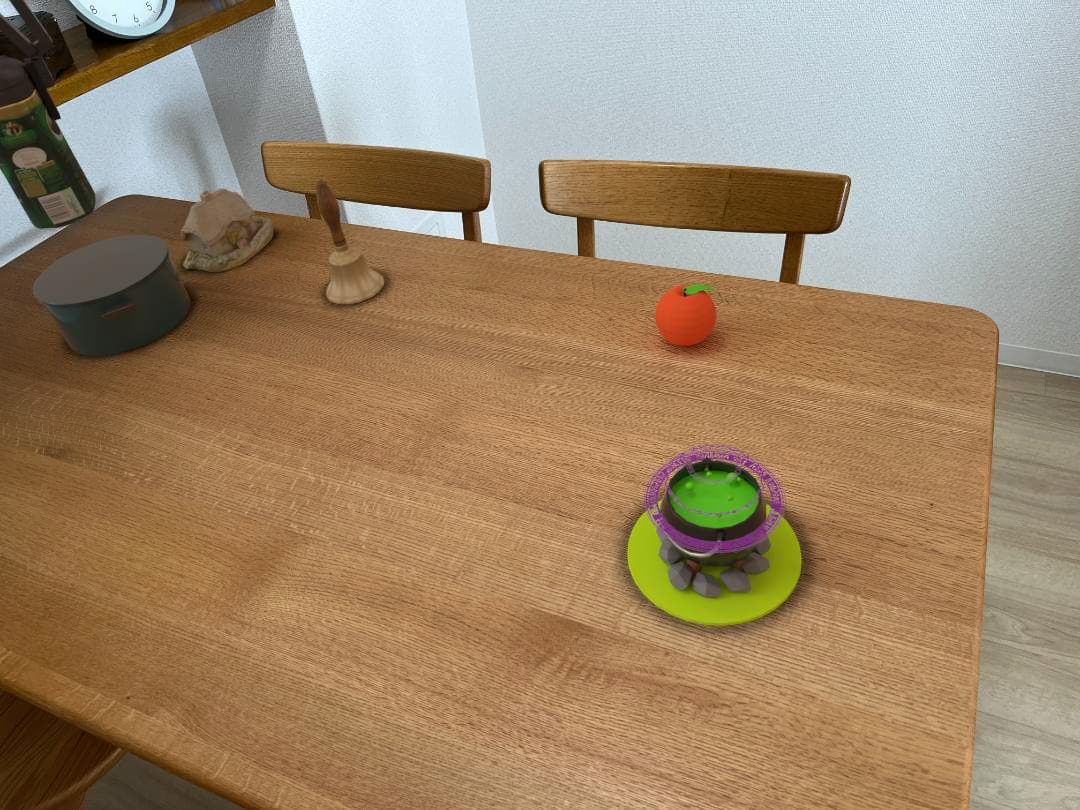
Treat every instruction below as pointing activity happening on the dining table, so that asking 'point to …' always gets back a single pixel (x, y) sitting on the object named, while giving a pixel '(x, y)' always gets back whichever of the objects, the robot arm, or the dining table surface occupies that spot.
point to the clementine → (686, 314)
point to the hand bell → (345, 257)
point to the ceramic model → (223, 232)
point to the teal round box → (114, 294)
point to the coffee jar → (38, 154)
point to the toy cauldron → (714, 542)
